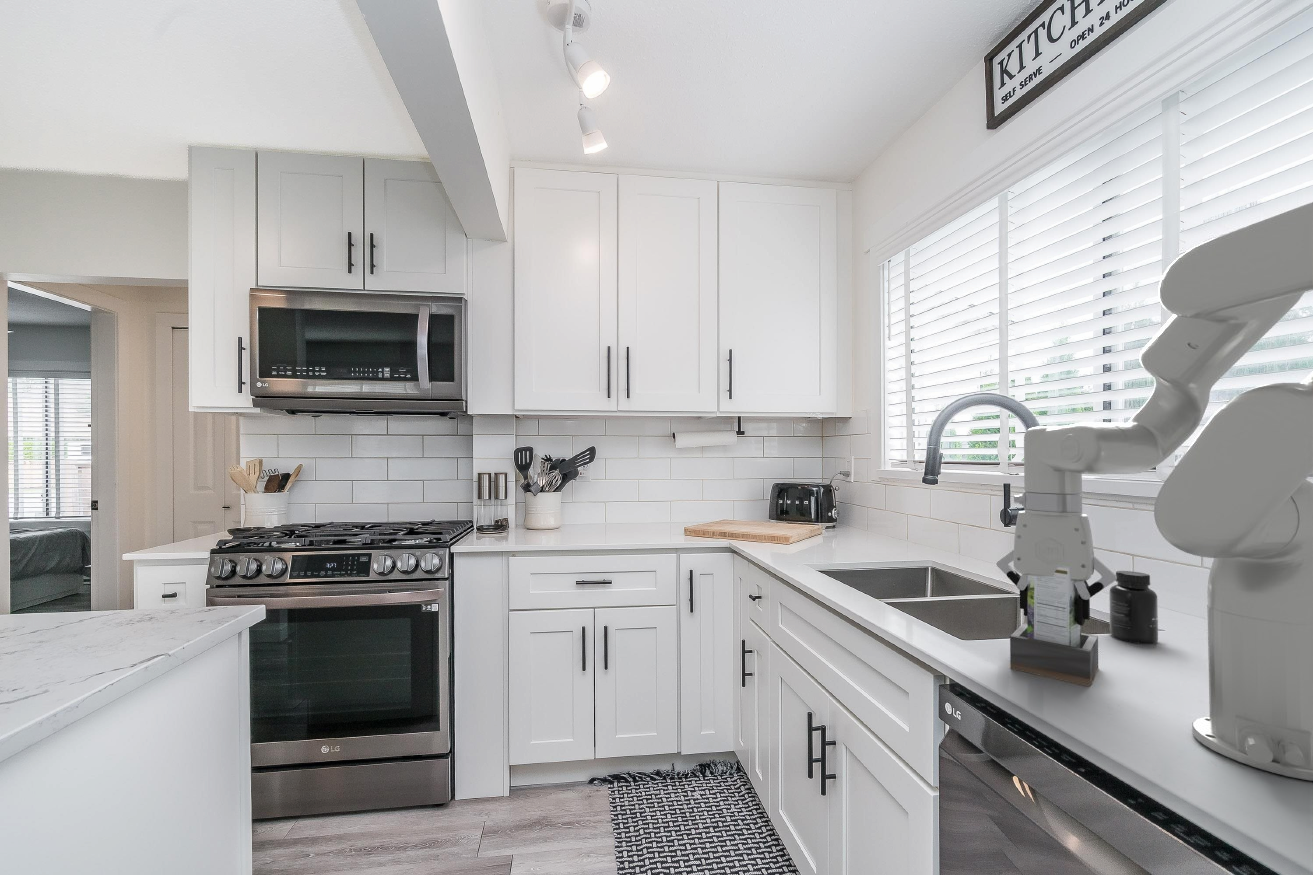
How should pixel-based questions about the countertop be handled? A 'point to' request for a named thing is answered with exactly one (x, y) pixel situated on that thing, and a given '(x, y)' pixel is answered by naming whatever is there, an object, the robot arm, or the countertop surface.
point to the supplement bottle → (1133, 608)
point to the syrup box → (1053, 609)
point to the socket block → (1055, 657)
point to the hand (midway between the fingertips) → (1053, 617)
